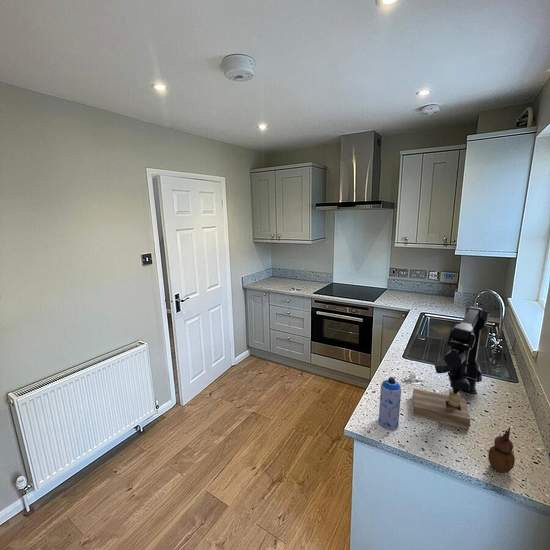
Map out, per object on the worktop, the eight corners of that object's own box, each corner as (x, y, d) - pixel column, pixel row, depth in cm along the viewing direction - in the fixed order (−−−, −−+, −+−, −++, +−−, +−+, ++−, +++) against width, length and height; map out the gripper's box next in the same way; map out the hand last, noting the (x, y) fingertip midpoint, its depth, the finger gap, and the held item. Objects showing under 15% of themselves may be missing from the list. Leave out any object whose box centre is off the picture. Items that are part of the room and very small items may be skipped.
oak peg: (446, 408, 126) (448, 389, 124) (457, 411, 124) (460, 392, 122) (447, 414, 122) (449, 395, 120) (458, 417, 120) (461, 397, 119)
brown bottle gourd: (502, 460, 100) (509, 422, 97) (516, 475, 95) (524, 435, 92) (482, 461, 100) (489, 423, 97) (496, 476, 94) (502, 436, 91)
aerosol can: (400, 431, 114) (404, 385, 110) (379, 429, 116) (383, 383, 112) (396, 417, 122) (399, 374, 118) (376, 416, 123) (379, 372, 119)
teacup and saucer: (423, 379, 151) (423, 371, 150) (422, 387, 144) (423, 379, 143) (404, 375, 155) (405, 368, 154) (403, 382, 148) (403, 375, 147)
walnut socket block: (412, 396, 136) (413, 388, 135) (463, 408, 127) (464, 398, 127) (412, 415, 123) (413, 406, 122) (469, 429, 115) (470, 419, 114)
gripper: (434, 345, 130) (431, 377, 133) (438, 364, 113) (434, 401, 116) (464, 349, 125) (460, 383, 128) (472, 370, 108) (467, 408, 112)
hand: (454, 393), depth 121 cm, fingers closed
